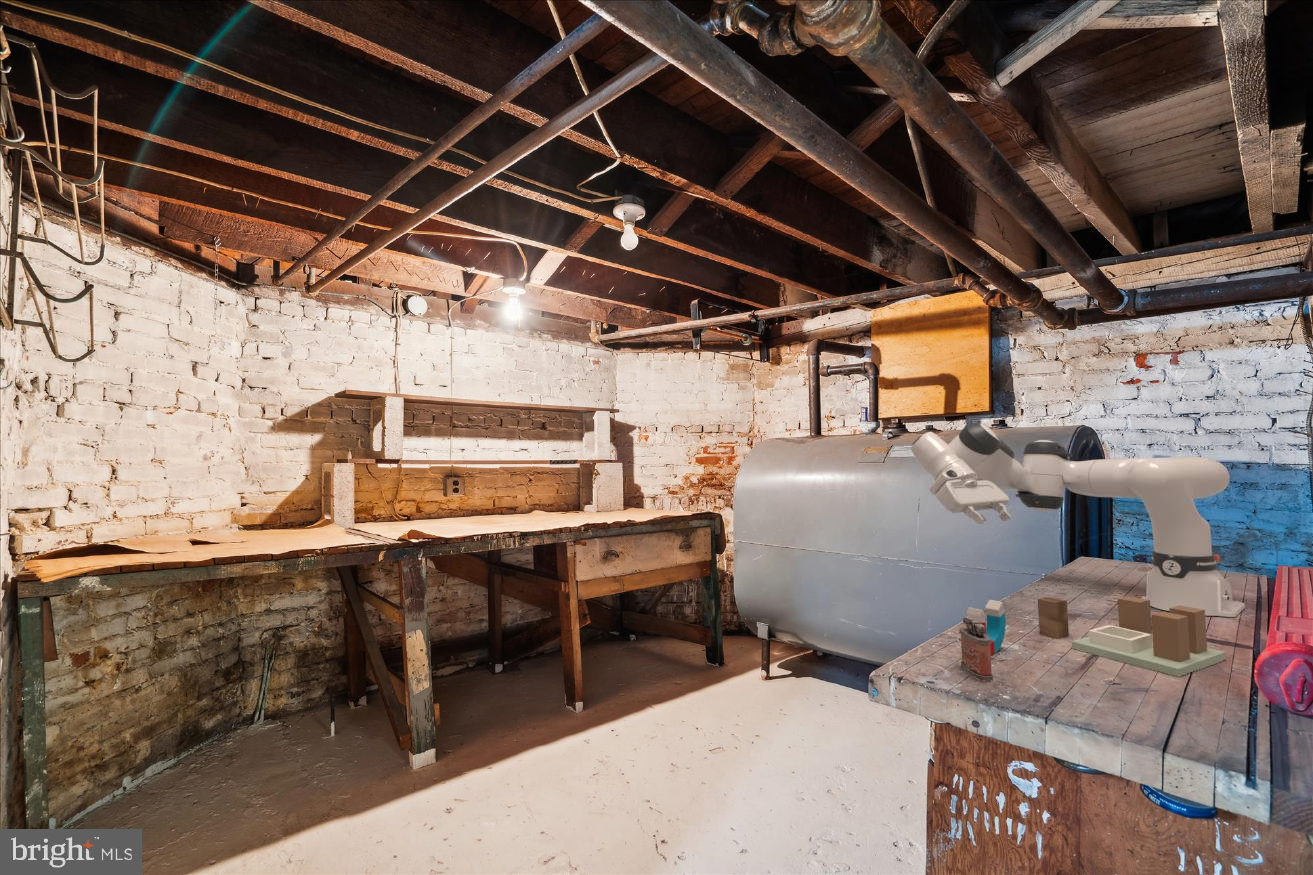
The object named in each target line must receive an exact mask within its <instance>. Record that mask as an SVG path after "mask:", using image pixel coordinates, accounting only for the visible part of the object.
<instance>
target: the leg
mask: <svg viewBox="0 0 1313 875" xmlns="http://www.w3.org/2000/svg"><path fill="white" fill-rule="evenodd" d="M1037 610H1038V629H1039V630H1038V631H1039V633H1038V634H1039V635H1040V636H1045V637H1049V638H1052V639H1057V640H1060V639H1063V638H1068V637H1070V634H1069V633H1070V632H1069V614H1068V600H1067V599H1062V598H1058V597H1052V596H1044V597H1039V598H1037Z"/></svg>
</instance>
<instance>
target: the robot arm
mask: <svg viewBox="0 0 1313 875" xmlns="http://www.w3.org/2000/svg"><path fill="white" fill-rule="evenodd" d="M910 449H911V452H912V454H913V456H914V457H915V459H916V460H917V461H918V463H919V464H920V465H921V467H922V468H923V469H924V470H925V471H926V472H927V473H929V474H930V475H931V476H932V477H933V479H934V481H933V483H932V484H931V486H930V487H929V489H928V490H929V492H930V493H931V494H932V495H935V497H936V499H937V500H938V501H939V502H940V504H942V506H943V507H944V508H945V509H946V510H947V511H949V512H951V513H952V514H958V513H963V514H964V515H965V516H967V517H968V518H970V519H972V520H974V522H975V523H976V524H978V525H982V524H984V523H986V521H987V518H986V517H985V516H984V515H983V514H982V513H981V514H980V513H979V512H978V511H987V510H994V511H995V512H997V513H998V515H999V516H998V518H999V519H1000V520H1001V521H1002V522H1006V521H1007V522H1008V521H1009V520H1011V518H1012V516H1011V515H1010V513H1009V512H1008V511H1007V508H1006V505H1007V504H1008V503H1009V501H1010V498H1009V496H1008V494H1006V493H1005V492H1004V490H1016V492H1017V493H1018V494H1015V497H1017V498H1019V500H1020V502H1021V503H1022V504H1023V505H1024V506H1026V507H1027V508H1030V509H1031V510H1034V511H1037V512H1044V513H1046V512H1052V511H1055V510H1059V509H1061V508H1062V506H1063V503H1064V501H1065V500H1064V499H1065V497H1064V493H1065V492H1064V491H1065V488H1066V489H1067V490H1068V491H1070V492H1072V493H1075V494H1078V495H1083V496H1088V497H1097V498H1119V499H1121V498H1122V499H1140V500H1141V501H1142V503H1143V505H1144V507H1145V508H1146V511H1147V513H1148V516H1149V518H1150V523H1151V528H1152V530H1151V531H1152V539H1153V540H1152V543H1153V550H1152V551H1151V564H1152V565H1153V567H1152V568H1151V569H1149V570H1148V571H1147V572H1146V573H1147V574H1146V595H1145V596H1141V597H1140V598H1141V599H1146V600H1150V607H1153V608H1155V609H1158V610H1161V611H1162V610H1163V611H1165V612H1166V611H1167V612H1170V611H1169V608H1172V607H1175V606H1179V605H1180V606H1186V607H1191V608H1197V609H1203V610H1205V616H1206V617H1207V616H1210V617H1212V616H1213V617H1215V616H1217V617H1224V618H1225V617H1227V618H1236V617H1237V616H1238V615H1239V614H1240V613H1241V612H1242V611H1243V610H1244V609H1245V608H1246V605H1245V604H1246V603H1244V602H1241V601H1238V600H1235V599H1233V593H1232V592H1233V591H1232V585H1231V583H1230V582H1229V581H1227V579H1226V578H1225V577H1224V576H1223V575H1222V574H1221V573H1220V572H1219V571H1218V570H1217V569H1218V565H1217V564H1218V563H1219V562H1220V559H1221V558H1220V555H1219V554H1213V551H1212V550H1213V549H1212V534H1211V526H1210V525H1211V524H1210V523H1209V522H1208V521H1207V520H1206V519H1204V517H1202V515H1201V514H1200V513H1199V511H1198V509H1197V507H1196V504H1195V500H1196V499H1197V500H1199V499H1204V498H1206V499H1207V498H1208V497H1212V496H1215V495H1217V494H1220V493H1222V492H1223V491H1224V490H1226V489H1227V488H1228V486H1229V484H1230V478H1231V477H1230V473H1229V470H1228V468H1227V467H1226V466H1225V465H1224V464H1223V463H1221V462H1219V461H1217V460H1215V459H1211V458H1207V457H1202V456H1169V457H1168V456H1167V457H1166V456H1165V457H1139V458H1137V457H1135V458H1108V459H1107V458H1105V459H1104V458H1103V459H1099V458H1098V459H1090V460H1081V461H1079V460H1078V461H1076V460H1075V461H1074V460H1070V459H1069V458H1071V457H1073V454H1072V453H1071V452H1068V451H1067V449H1066V448H1065V446H1063V445H1062V444H1060V443H1059V442H1055V441H1051V440H1049V439H1039V440H1035V441H1031V442H1028V443H1027V444H1026V445H1025V447H1024V450H1023V460H1022V464H1021V463H1020V462H1019V461H1018V460H1017V459H1015V453H1014V451H1013V450H1012V448H1011V447H1010V446H1008V445H1007V444H1006V443H1005V442H1004V441H1003V440H1001V438H1000V437H999V436H997V434H996V433H995V432H994V431H993V430H992V429H991V428H990V427H988V426H987V425H985V424H984V423H983V424H982V423H980V422H974V423H973V422H972V423H967V424H966V425H965V426H964V427H963V428H962V429H961V431H960V432H959V433H958V434H957V435H956V436H954V438H953V439H952V440H951V441H950V442H949V443H947V442H946V441H945V440H944V439H942V438H941V437H940V436H938V435H937V433H934V432H933V431H927V432H924V433H923V434H921V435H919V436H918V438H916V439H915V441H914V442H913V443H912V444H911V447H910Z"/></svg>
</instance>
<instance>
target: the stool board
mask: <svg viewBox="0 0 1313 875" xmlns="http://www.w3.org/2000/svg"><path fill="white" fill-rule="evenodd" d="M1117 610H1118V611H1117V612H1118V626H1116V625H1112V624H1111V625H1110V624H1107V625H1103V626H1099V627H1096V628H1092V629H1090V630H1088V636H1087V637H1083V638H1082V637H1081V638H1079V639H1076V640H1072V641H1071V649H1072V650H1076V651H1080V652H1084V653H1088V654H1092V655H1096V656H1099V657H1103V658H1107V659H1109V660H1113V661H1117V662H1120V663H1124V664H1128V665H1132V666H1136V667H1139V668H1143V669H1147V670H1150V669H1152V670H1151V671H1154V670H1156V671H1155V672H1158V671H1160V672H1159V673H1161V672H1164V673H1163V674H1165V673H1168V674H1167V675H1169V674H1170V675H1169V676H1173V675H1175V676H1174V677H1176V676H1178V678H1181V677H1183V676H1182V675H1184V676H1186V675H1188V674H1187V673H1189V674H1191V673H1190V672H1192V673H1194V672H1197V671H1199V669H1200V670H1202V669H1205V668H1208V667H1211V666H1213V665H1215V664H1218V663H1221V662H1223V660H1224V661H1226V660H1227V657H1226V656H1227V655H1226V651H1223V650H1218V649H1214V648H1209V647H1208V643H1207V641H1208V640H1207V624H1206V615H1205V610H1203V609H1197V608H1191V607H1186V606H1180V605H1179V606H1175V607H1172V608H1169V611H1167V612H1166V611H1159V612H1155V613H1152V612H1151V606H1150V600H1146V599H1141V597H1140V598H1139V597H1136V596H1135V597H1133V596H1128V595H1127V596H1123V597H1119V598H1118V597H1117ZM1196 670H1197V671H1196ZM1193 671H1194V672H1193ZM1185 674H1186V675H1185ZM1180 676H1181V677H1180Z"/></svg>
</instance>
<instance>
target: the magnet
mask: <svg viewBox="0 0 1313 875" xmlns="http://www.w3.org/2000/svg"><path fill="white" fill-rule="evenodd" d="M984 610H985V612H984V611H983V610H982V609H979V608H974V607H970V606H969V607H967V612H966V616H968V617H970V618H972V619H974V620H979V621H980V622H981V624H982V625H983V626H984V629H985V632H984V634H986V635H987V636H988V637H990V638H991V644H990V654H991V655H995V654H997V653H998V652H999V651H1000V649H1001V647H1002V644H1003V643H1004V639H1005V632H1006V624H1007V623H1006V621H1007V620H1006V610H1005V607H1004V602H1003V601H999V600H994V599H989V600H988V601H987V603H986V605H985V607H984ZM967 626H968V625H966V624H965V627H967Z"/></svg>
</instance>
